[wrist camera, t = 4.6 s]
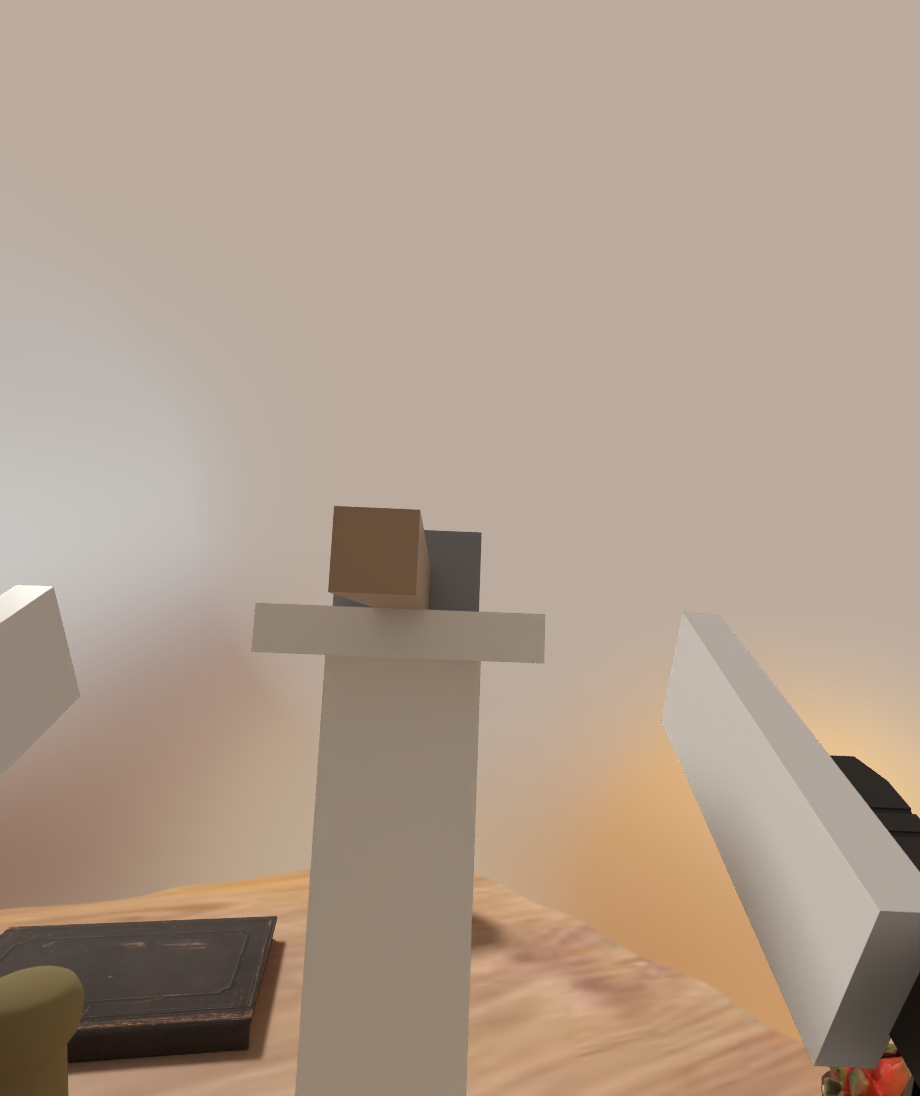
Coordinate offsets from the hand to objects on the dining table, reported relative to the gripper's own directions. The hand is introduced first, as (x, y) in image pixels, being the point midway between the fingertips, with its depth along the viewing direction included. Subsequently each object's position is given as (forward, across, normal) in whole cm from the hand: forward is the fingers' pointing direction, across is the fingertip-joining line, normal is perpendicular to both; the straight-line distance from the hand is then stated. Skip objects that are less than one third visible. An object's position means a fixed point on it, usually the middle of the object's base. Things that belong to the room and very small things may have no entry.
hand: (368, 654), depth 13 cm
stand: (+1, -1, -34) cm, 34 cm away
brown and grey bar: (+12, -1, -5) cm, 13 cm away
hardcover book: (+19, -24, -45) cm, 55 cm away
